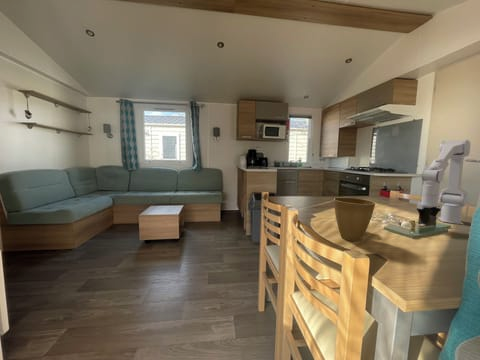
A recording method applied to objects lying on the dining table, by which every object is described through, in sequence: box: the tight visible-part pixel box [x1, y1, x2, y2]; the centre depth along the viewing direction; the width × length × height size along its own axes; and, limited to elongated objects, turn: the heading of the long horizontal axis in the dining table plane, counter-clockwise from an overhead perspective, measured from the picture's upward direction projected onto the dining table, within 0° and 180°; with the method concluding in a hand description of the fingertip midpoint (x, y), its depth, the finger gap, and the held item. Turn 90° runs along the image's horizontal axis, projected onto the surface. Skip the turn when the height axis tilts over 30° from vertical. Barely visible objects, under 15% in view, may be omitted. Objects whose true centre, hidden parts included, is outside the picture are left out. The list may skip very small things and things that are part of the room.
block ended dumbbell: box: [407, 214, 438, 230], centre depth 96 cm, size 14×5×5 cm, turn 111°
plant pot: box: [333, 196, 376, 242], centre depth 84 cm, size 15×15×16 cm
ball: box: [401, 220, 412, 228], centre depth 92 cm, size 4×4×4 cm
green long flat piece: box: [383, 220, 452, 239], centre depth 97 cm, size 36×12×3 cm, turn 111°
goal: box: [387, 218, 420, 235], centre depth 92 cm, size 6×9×4 cm
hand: (427, 222), depth 98 cm, fingers closed on block ended dumbbell, 4 cm apart
